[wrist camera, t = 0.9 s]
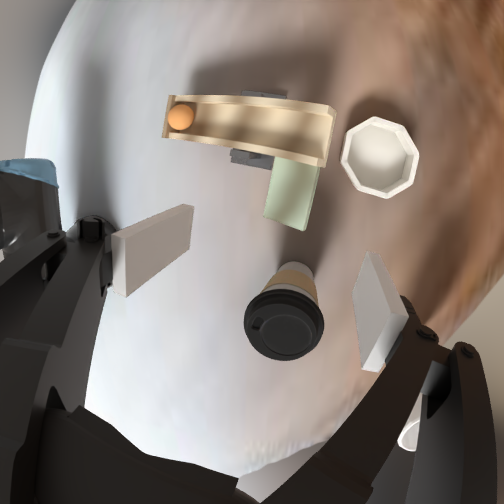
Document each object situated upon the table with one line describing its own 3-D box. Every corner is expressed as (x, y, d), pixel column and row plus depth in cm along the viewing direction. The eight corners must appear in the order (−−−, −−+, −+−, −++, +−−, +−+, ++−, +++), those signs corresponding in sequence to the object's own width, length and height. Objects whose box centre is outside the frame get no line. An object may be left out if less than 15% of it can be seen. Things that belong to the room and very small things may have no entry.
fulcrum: (182, 154, 42) (157, 155, 35) (194, 87, 38) (171, 77, 31) (272, 170, 39) (261, 173, 33) (286, 97, 35) (278, 84, 28)
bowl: (334, 181, 38) (335, 184, 34) (348, 114, 34) (351, 109, 30) (399, 200, 36) (406, 205, 33) (414, 135, 32) (423, 133, 29)
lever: (172, 185, 40) (155, 186, 38) (185, 98, 35) (168, 95, 33) (309, 231, 30) (297, 236, 27) (336, 111, 25) (326, 103, 23)
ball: (175, 129, 36) (160, 128, 33) (179, 105, 35) (164, 102, 31) (196, 131, 35) (182, 130, 32) (201, 107, 34) (186, 103, 30)
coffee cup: (263, 250, 44) (234, 296, 30) (325, 249, 41) (324, 297, 28) (267, 304, 47) (244, 363, 33) (325, 305, 44) (322, 367, 31)
